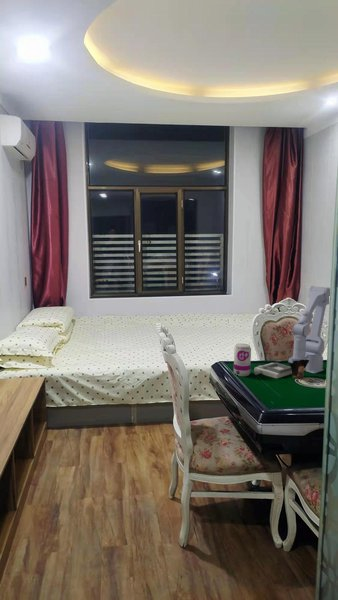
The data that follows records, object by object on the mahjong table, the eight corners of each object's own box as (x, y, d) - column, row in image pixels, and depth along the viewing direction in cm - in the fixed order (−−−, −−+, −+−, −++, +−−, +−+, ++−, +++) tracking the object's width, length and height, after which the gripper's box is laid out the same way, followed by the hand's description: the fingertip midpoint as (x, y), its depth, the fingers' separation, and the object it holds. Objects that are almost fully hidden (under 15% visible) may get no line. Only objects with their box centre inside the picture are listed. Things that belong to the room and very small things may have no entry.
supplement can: (249, 377, 209) (251, 347, 207) (233, 376, 211) (234, 346, 209) (250, 372, 217) (251, 343, 215) (233, 371, 219) (234, 342, 217)
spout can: (296, 374, 214) (297, 363, 213) (307, 378, 209) (308, 366, 208) (290, 376, 211) (291, 365, 210) (301, 380, 206) (302, 368, 205)
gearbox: (272, 366, 228) (272, 360, 228) (294, 372, 217) (295, 366, 217) (249, 372, 216) (249, 366, 216) (271, 380, 205) (271, 373, 205)
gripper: (298, 351, 201) (296, 379, 203) (315, 347, 210) (313, 373, 212) (285, 348, 206) (284, 375, 208) (302, 344, 215) (301, 370, 217)
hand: (298, 374), depth 210 cm, fingers closed on spout can, 5 cm apart
